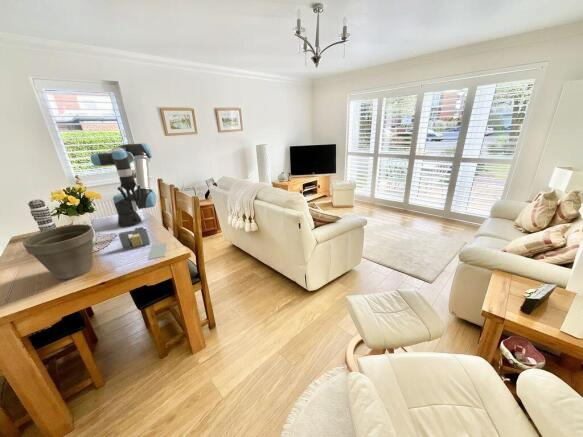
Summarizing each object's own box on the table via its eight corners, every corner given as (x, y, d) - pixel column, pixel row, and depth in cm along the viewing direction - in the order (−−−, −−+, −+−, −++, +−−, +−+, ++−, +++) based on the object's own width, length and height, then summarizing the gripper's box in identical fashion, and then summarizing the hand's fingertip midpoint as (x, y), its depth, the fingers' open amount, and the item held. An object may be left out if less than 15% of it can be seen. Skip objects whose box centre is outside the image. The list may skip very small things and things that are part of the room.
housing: (124, 247, 146) (119, 232, 142) (150, 242, 151) (146, 228, 147) (123, 249, 143) (118, 234, 140) (149, 244, 148) (145, 230, 144)
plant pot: (104, 253, 140) (91, 219, 131) (106, 272, 122) (91, 234, 113) (46, 269, 125) (27, 232, 117) (39, 293, 107) (16, 252, 99)
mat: (152, 245, 147) (152, 245, 147) (167, 242, 150) (166, 242, 150) (148, 259, 132) (148, 259, 131) (164, 256, 134) (164, 256, 134)
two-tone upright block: (137, 236, 160) (135, 228, 158) (145, 234, 162) (143, 227, 159) (133, 246, 146) (130, 238, 144) (141, 245, 148) (138, 236, 145)
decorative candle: (61, 233, 169) (46, 199, 159) (44, 238, 161) (27, 203, 152) (57, 230, 173) (42, 197, 164) (40, 235, 166) (23, 201, 156)
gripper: (111, 178, 145) (123, 213, 154) (137, 175, 149) (147, 210, 158) (114, 175, 151) (125, 210, 160) (139, 173, 156) (148, 207, 165)
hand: (136, 210), depth 159 cm, fingers closed
